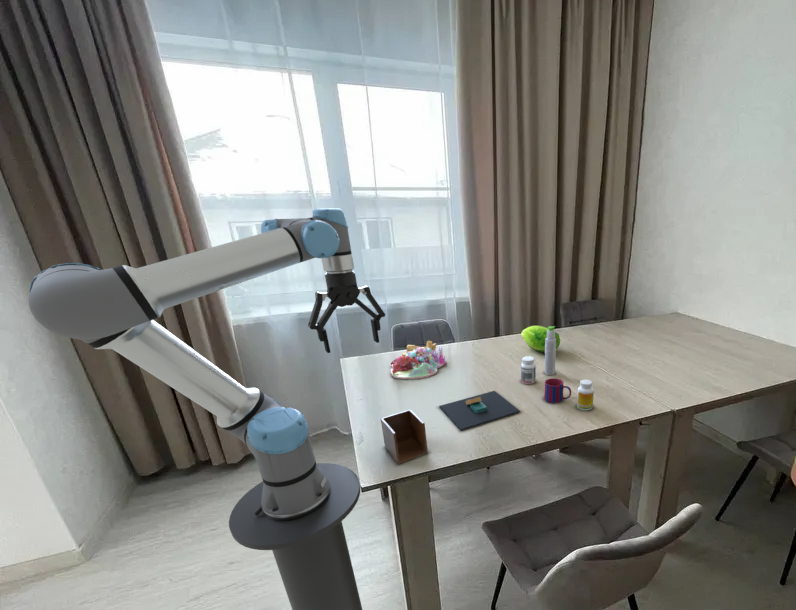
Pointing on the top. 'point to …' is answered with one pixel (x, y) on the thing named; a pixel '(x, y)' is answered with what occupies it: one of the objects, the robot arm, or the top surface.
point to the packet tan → (473, 400)
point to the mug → (555, 390)
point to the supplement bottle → (585, 395)
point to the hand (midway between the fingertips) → (353, 346)
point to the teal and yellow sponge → (478, 407)
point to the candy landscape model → (418, 362)
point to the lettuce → (537, 337)
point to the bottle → (550, 351)
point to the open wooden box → (404, 436)
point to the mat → (469, 418)
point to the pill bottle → (528, 370)
